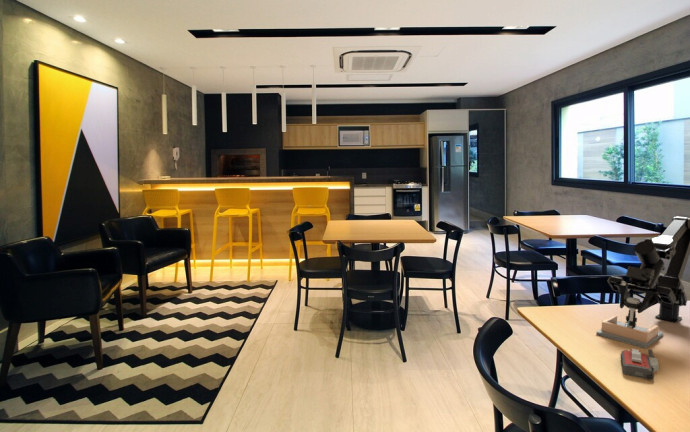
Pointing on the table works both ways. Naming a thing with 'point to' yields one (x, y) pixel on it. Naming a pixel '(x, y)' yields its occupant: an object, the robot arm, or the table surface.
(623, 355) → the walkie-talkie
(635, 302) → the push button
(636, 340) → the end holder
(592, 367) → the table surface
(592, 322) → the table surface
